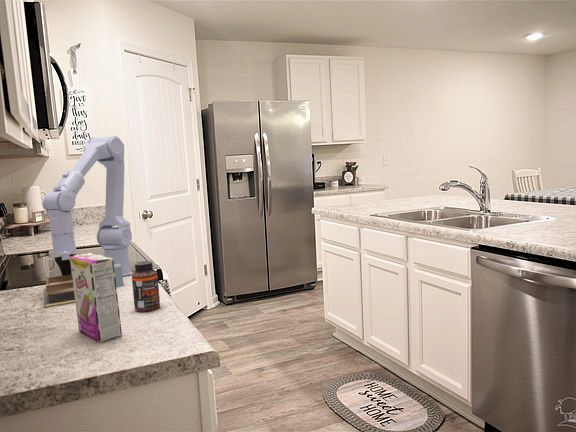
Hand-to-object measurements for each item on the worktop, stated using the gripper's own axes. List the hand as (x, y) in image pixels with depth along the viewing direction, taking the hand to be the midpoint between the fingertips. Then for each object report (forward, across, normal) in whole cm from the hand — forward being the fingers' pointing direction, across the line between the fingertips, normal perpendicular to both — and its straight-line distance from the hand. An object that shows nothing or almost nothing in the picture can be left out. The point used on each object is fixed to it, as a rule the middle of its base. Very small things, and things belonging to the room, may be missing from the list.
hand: (68, 280), depth 137 cm
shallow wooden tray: (+3, +7, 0) cm, 7 cm away
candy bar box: (+3, +44, +4) cm, 44 cm away
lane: (+3, +3, 0) cm, 4 cm away
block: (+3, +2, +12) cm, 13 cm away
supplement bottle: (+3, +32, +16) cm, 36 cm away
